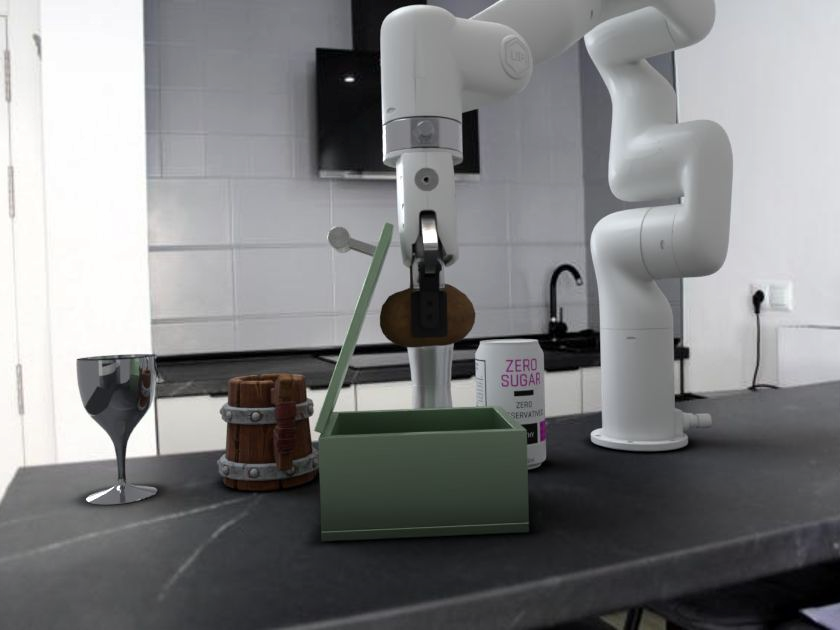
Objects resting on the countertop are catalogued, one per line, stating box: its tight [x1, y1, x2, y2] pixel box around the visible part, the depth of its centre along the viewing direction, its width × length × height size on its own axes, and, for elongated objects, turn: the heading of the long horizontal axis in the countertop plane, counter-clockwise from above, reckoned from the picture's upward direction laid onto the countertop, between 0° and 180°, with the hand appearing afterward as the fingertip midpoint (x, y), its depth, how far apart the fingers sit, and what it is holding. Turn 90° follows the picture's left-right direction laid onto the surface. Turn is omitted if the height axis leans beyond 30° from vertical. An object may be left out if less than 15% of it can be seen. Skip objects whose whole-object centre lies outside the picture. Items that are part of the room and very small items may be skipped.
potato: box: [379, 283, 476, 348], centre depth 66 cm, size 7×10×6 cm
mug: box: [216, 373, 319, 492], centre depth 80 cm, size 12×14×15 cm
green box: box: [317, 406, 530, 543], centre depth 67 cm, size 18×14×9 cm
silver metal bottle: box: [406, 343, 455, 409], centre depth 94 cm, size 6×7×20 cm
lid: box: [313, 221, 395, 434], centre depth 66 cm, size 19×14×5 cm
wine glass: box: [75, 353, 158, 506], centre depth 76 cm, size 8×8×15 cm
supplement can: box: [474, 338, 547, 470], centre depth 85 cm, size 8×8×15 cm
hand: (426, 333), depth 66 cm, fingers closed on potato, 7 cm apart
